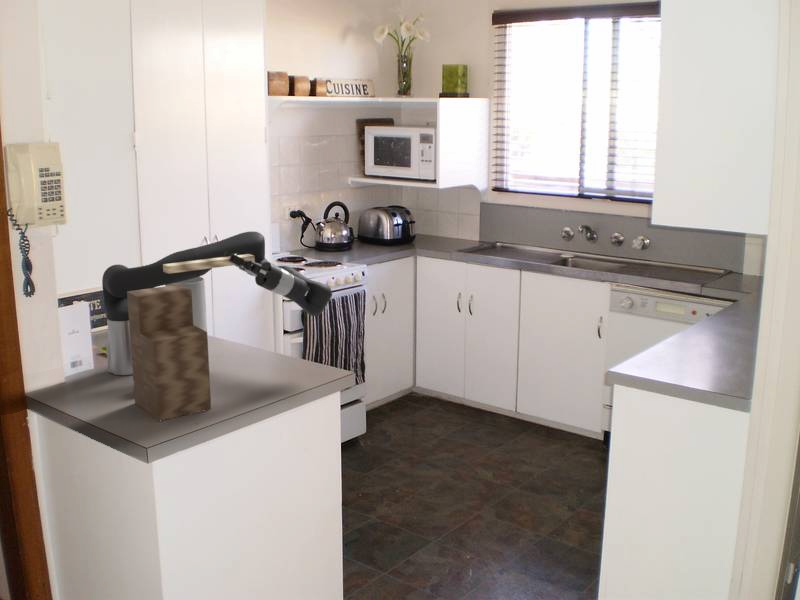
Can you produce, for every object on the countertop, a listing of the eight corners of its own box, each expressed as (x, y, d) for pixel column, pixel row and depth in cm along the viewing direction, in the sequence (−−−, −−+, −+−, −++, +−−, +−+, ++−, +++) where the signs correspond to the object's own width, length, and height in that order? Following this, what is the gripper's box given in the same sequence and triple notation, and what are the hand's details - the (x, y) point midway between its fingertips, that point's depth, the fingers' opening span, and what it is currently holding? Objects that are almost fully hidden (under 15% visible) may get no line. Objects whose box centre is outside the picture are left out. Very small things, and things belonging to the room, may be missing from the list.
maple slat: (249, 260, 248) (248, 253, 248) (254, 262, 245) (254, 255, 245) (163, 271, 233) (162, 264, 232) (168, 273, 230) (167, 266, 230)
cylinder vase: (169, 360, 277) (164, 284, 271) (169, 349, 289) (165, 276, 283) (208, 357, 280) (204, 283, 274) (207, 346, 292) (204, 275, 286)
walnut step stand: (185, 392, 247) (179, 284, 240) (211, 409, 234) (205, 295, 226) (135, 403, 238) (126, 291, 231) (158, 421, 225) (150, 303, 218)
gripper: (268, 263, 258) (221, 240, 247) (292, 271, 247) (244, 247, 236) (258, 286, 258) (211, 264, 247) (281, 295, 247) (233, 272, 236)
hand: (227, 256), depth 242 cm, fingers closed on maple slat, 3 cm apart
